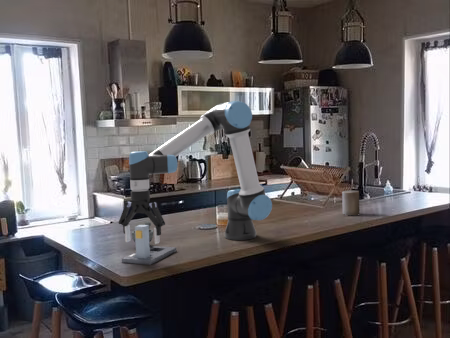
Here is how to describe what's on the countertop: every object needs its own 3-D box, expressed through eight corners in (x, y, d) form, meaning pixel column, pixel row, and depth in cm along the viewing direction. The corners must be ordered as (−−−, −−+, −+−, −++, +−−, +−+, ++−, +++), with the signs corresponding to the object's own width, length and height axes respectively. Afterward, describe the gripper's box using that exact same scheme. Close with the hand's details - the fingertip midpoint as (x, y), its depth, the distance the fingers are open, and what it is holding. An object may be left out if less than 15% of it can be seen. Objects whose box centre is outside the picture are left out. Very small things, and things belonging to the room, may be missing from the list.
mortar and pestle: (128, 246, 220) (127, 220, 219) (146, 242, 226) (145, 217, 225) (141, 250, 212) (140, 223, 211) (159, 246, 218) (158, 220, 217)
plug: (150, 259, 197) (148, 225, 196) (143, 262, 192) (142, 227, 191) (141, 258, 198) (140, 224, 197) (135, 261, 194) (133, 227, 193)
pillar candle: (363, 214, 281) (362, 188, 280) (351, 216, 276) (351, 190, 275) (350, 212, 289) (349, 187, 288) (338, 214, 284) (338, 189, 283)
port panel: (150, 249, 213) (149, 245, 213) (176, 251, 209) (176, 247, 208) (121, 262, 193) (121, 258, 193) (150, 264, 188) (150, 260, 188)
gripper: (108, 190, 195) (110, 242, 196) (163, 191, 185) (165, 246, 187) (118, 188, 201) (121, 238, 203) (172, 189, 192) (174, 241, 194)
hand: (142, 242), depth 195 cm, fingers open, 13 cm apart
